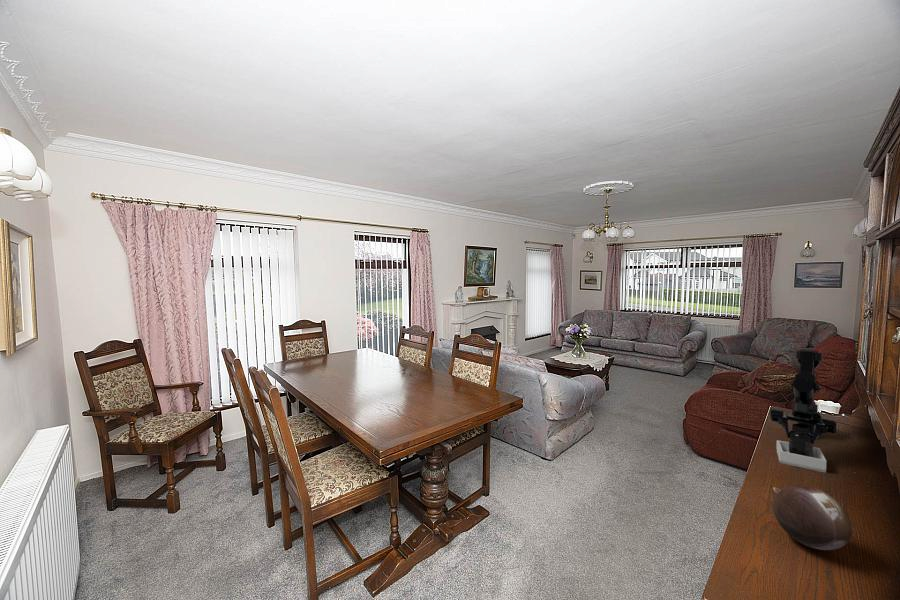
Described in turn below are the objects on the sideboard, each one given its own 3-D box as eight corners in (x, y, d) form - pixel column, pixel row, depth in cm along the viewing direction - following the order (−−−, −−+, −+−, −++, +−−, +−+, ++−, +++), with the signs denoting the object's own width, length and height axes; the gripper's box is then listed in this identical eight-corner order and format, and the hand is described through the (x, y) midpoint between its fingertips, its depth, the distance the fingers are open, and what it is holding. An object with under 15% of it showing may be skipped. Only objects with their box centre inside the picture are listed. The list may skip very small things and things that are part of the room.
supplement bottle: (809, 453, 142) (809, 424, 142) (815, 461, 137) (816, 430, 136) (786, 450, 146) (786, 421, 145) (791, 457, 140) (792, 427, 139)
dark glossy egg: (825, 570, 88) (828, 511, 88) (759, 530, 103) (760, 479, 102) (865, 557, 92) (868, 500, 92) (796, 520, 107) (797, 471, 106)
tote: (776, 450, 150) (776, 440, 150) (819, 459, 142) (819, 448, 142) (779, 462, 140) (780, 451, 140) (825, 472, 132) (826, 461, 132)
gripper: (771, 389, 150) (766, 423, 143) (837, 400, 136) (835, 437, 129) (773, 403, 155) (768, 436, 149) (836, 415, 142) (835, 451, 135)
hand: (800, 440), depth 140 cm, fingers closed on supplement bottle, 7 cm apart
